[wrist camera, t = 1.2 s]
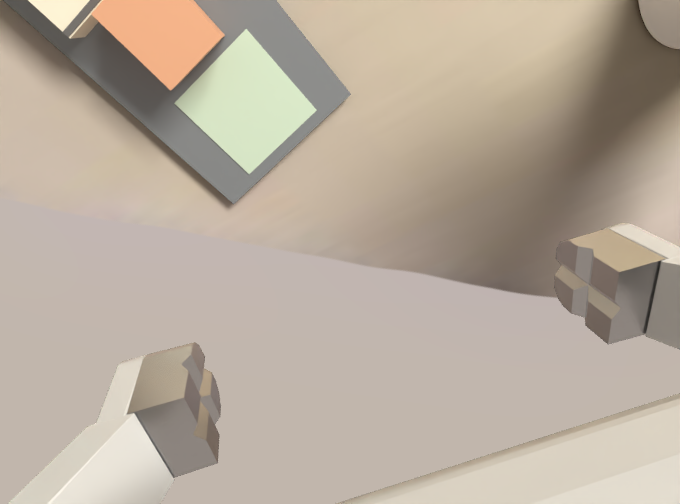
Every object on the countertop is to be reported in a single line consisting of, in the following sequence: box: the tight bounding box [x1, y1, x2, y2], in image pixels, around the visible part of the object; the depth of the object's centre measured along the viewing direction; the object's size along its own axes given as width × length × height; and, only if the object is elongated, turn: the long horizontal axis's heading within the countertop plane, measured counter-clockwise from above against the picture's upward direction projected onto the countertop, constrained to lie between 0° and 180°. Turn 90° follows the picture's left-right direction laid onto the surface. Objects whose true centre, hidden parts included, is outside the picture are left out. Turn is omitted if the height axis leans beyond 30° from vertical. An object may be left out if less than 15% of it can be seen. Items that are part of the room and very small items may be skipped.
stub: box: [91, 0, 225, 91], centre depth 29 cm, size 5×6×4 cm
